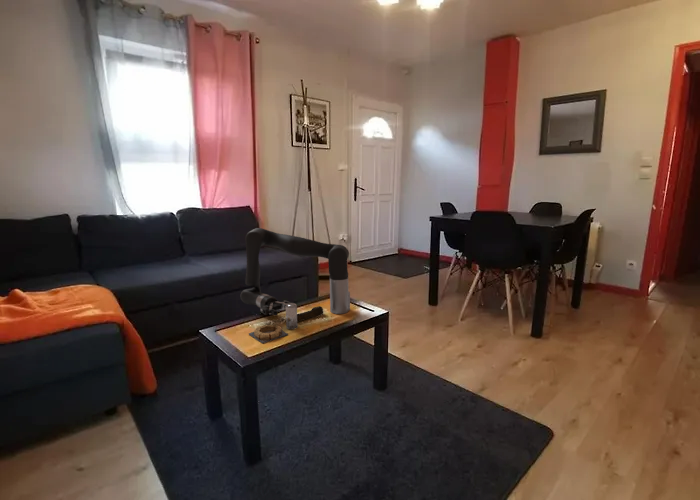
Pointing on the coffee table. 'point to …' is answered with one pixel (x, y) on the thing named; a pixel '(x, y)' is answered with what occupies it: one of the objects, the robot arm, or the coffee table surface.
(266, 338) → the ring plate
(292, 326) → the cylinder
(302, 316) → the hand tool
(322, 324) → the coffee table surface
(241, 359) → the coffee table surface
